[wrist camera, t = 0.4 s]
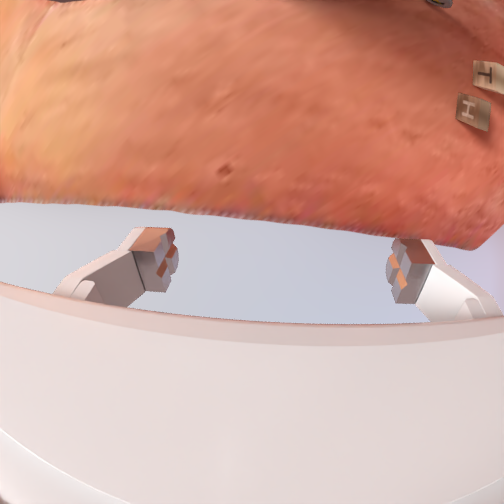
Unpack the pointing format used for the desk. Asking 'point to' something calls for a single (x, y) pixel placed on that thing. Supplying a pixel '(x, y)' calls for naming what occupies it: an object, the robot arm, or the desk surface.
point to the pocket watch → (441, 3)
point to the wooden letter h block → (473, 111)
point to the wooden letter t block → (488, 76)
